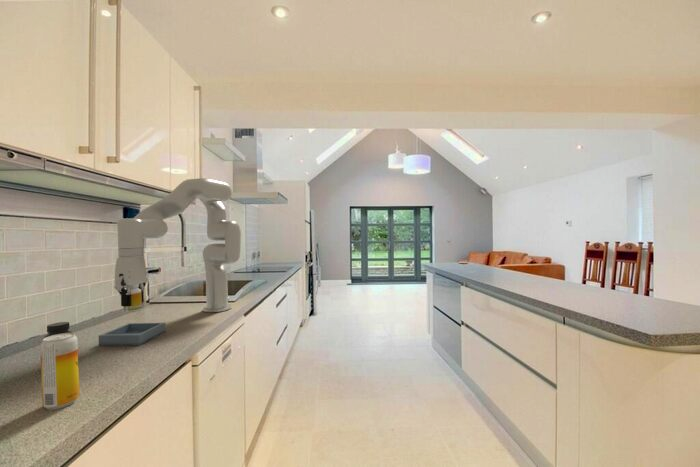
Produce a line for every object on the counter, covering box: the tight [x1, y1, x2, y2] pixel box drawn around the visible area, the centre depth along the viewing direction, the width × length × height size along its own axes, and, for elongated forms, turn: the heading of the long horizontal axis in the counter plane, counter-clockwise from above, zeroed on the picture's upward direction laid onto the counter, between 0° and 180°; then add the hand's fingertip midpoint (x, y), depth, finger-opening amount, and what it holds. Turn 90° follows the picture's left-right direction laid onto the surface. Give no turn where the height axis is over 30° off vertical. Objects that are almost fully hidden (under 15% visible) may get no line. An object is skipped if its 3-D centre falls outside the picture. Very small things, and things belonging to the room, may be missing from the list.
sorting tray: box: [98, 322, 166, 347], centre depth 113 cm, size 14×14×4 cm
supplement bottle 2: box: [123, 284, 143, 313], centre depth 113 cm, size 5×5×10 cm
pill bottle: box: [39, 332, 80, 411], centre depth 71 cm, size 6×6×15 cm
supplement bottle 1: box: [41, 321, 74, 342], centre depth 92 cm, size 7×7×12 cm
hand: (132, 303), depth 113 cm, fingers closed on supplement bottle 2, 5 cm apart
